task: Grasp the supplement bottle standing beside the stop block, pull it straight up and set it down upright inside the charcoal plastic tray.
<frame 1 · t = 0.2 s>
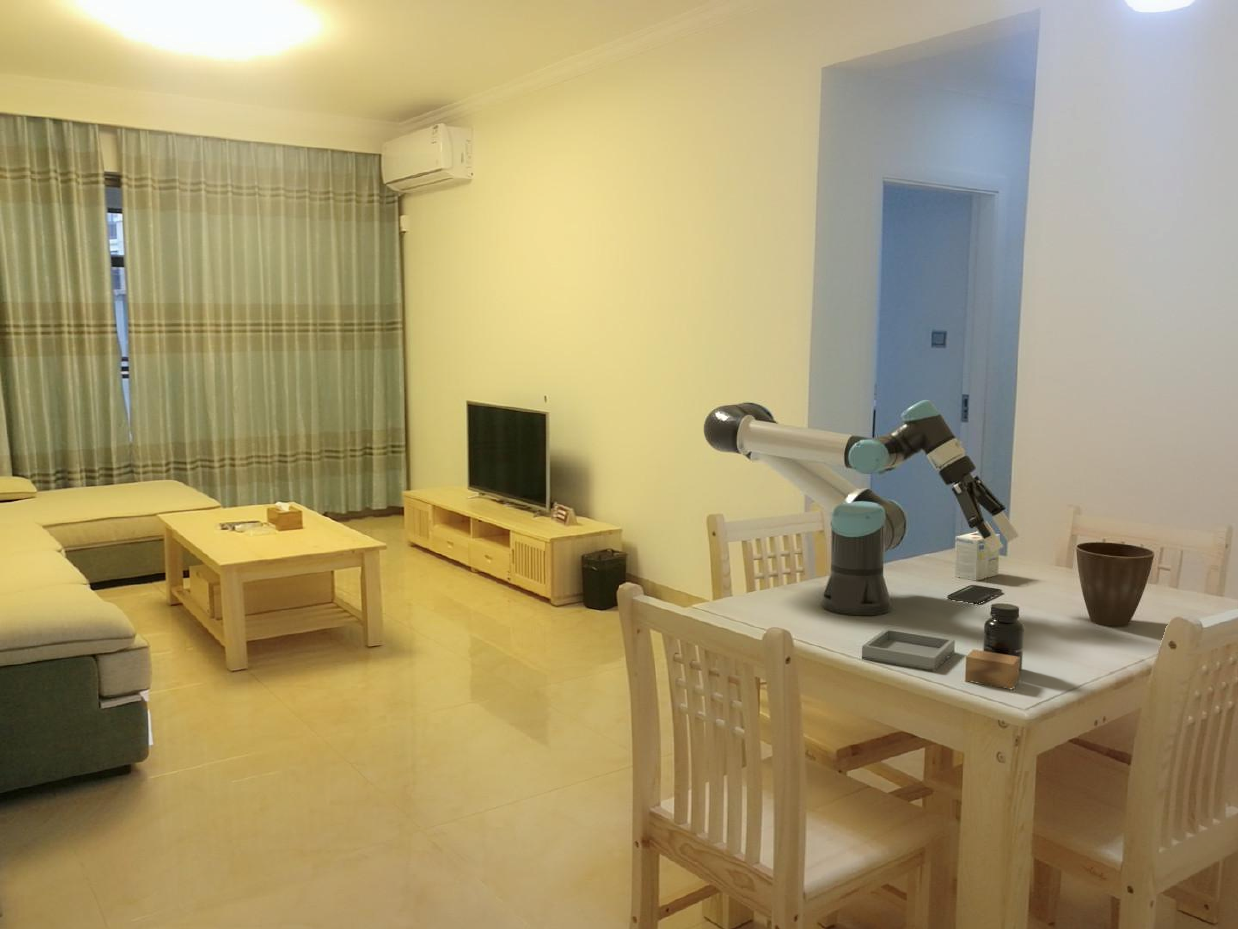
hand: (1006, 544, 218), 16 cm above the table, tool tilted 35°, fingers open, 13 cm apart
phone: (974, 598, 235), on the table
supplement bottle: (1001, 671, 182), on the table
light bulb box: (976, 576, 255), on the table
plant pot: (1110, 623, 212), on the table
stop block: (991, 681, 176), on the table
tray: (908, 655, 190), on the table
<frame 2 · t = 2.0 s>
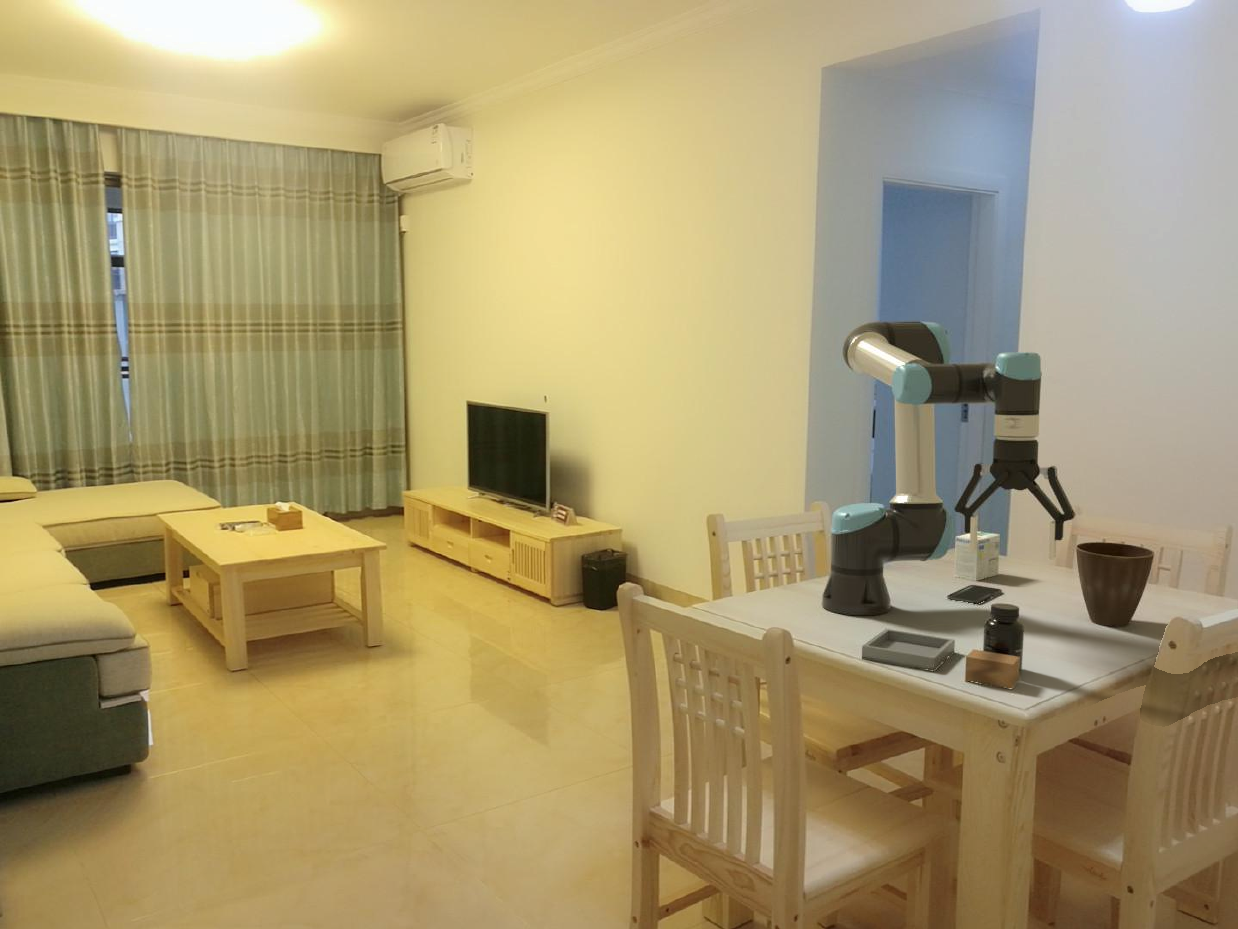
hand: (1012, 554, 180), 21 cm above the table, tool pointing down, fingers open, 13 cm apart
nothing on the table moved.
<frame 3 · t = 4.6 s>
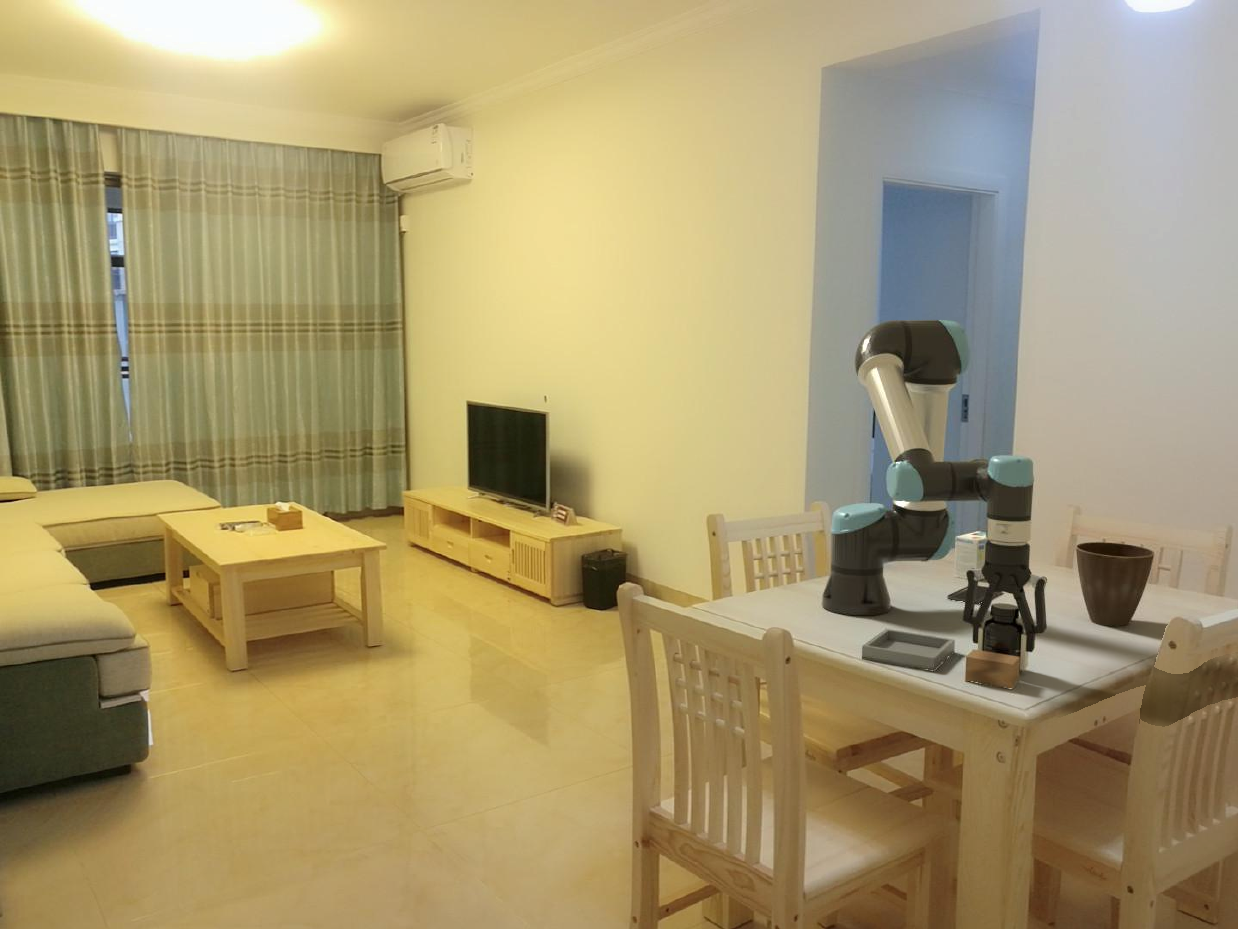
hand: (1002, 664, 182), 1 cm above the table, tool pointing down, fingers closed on supplement bottle, 7 cm apart
supplement bottle: (1001, 670, 182), on the table, touching gripper
everything else where it was.
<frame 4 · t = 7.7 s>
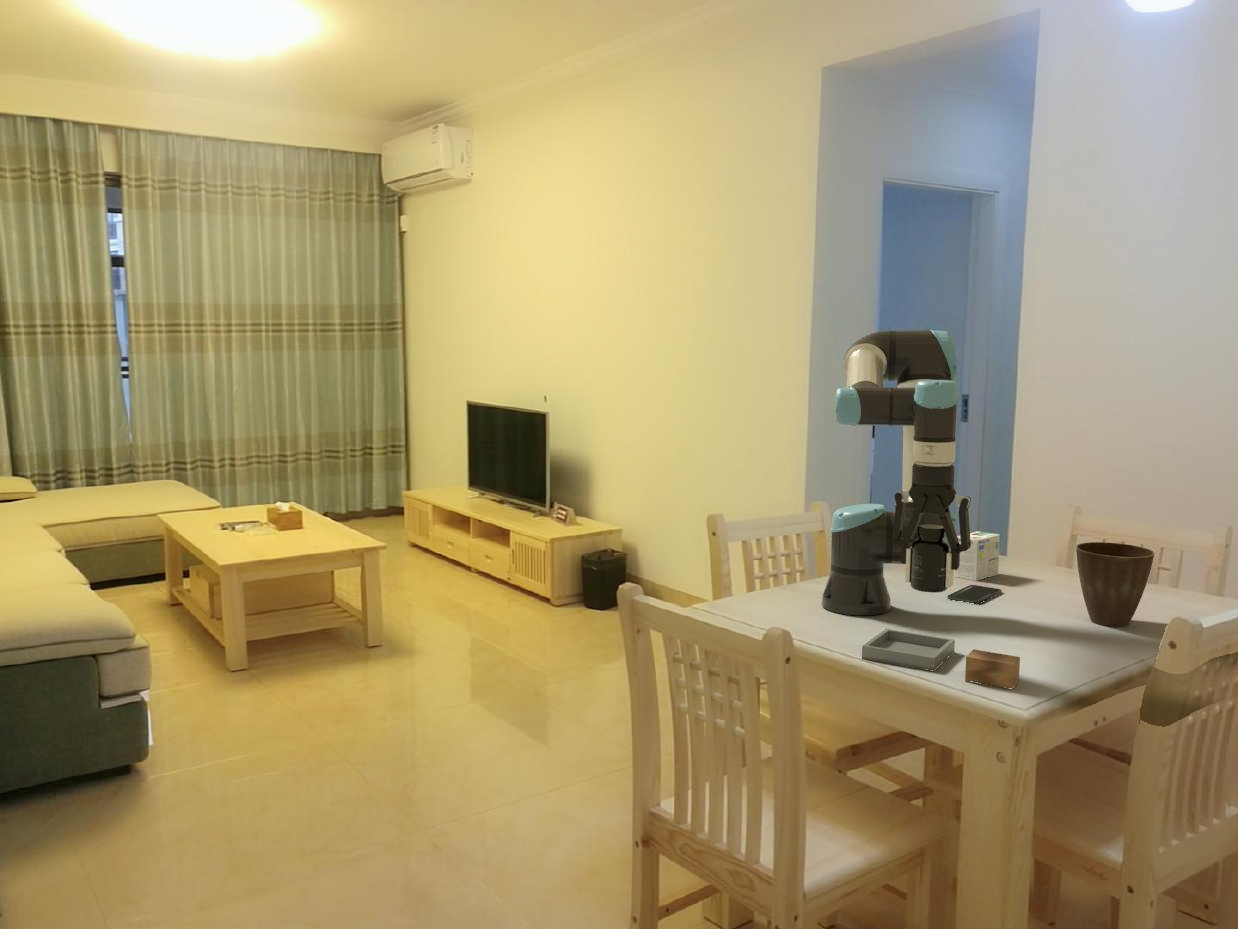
hand: (929, 583, 188), 14 cm above the table, tool pointing down, fingers closed on supplement bottle, 7 cm apart
supplement bottle: (929, 589, 188), point 13 cm above the table, touching gripper
everything else where it was.
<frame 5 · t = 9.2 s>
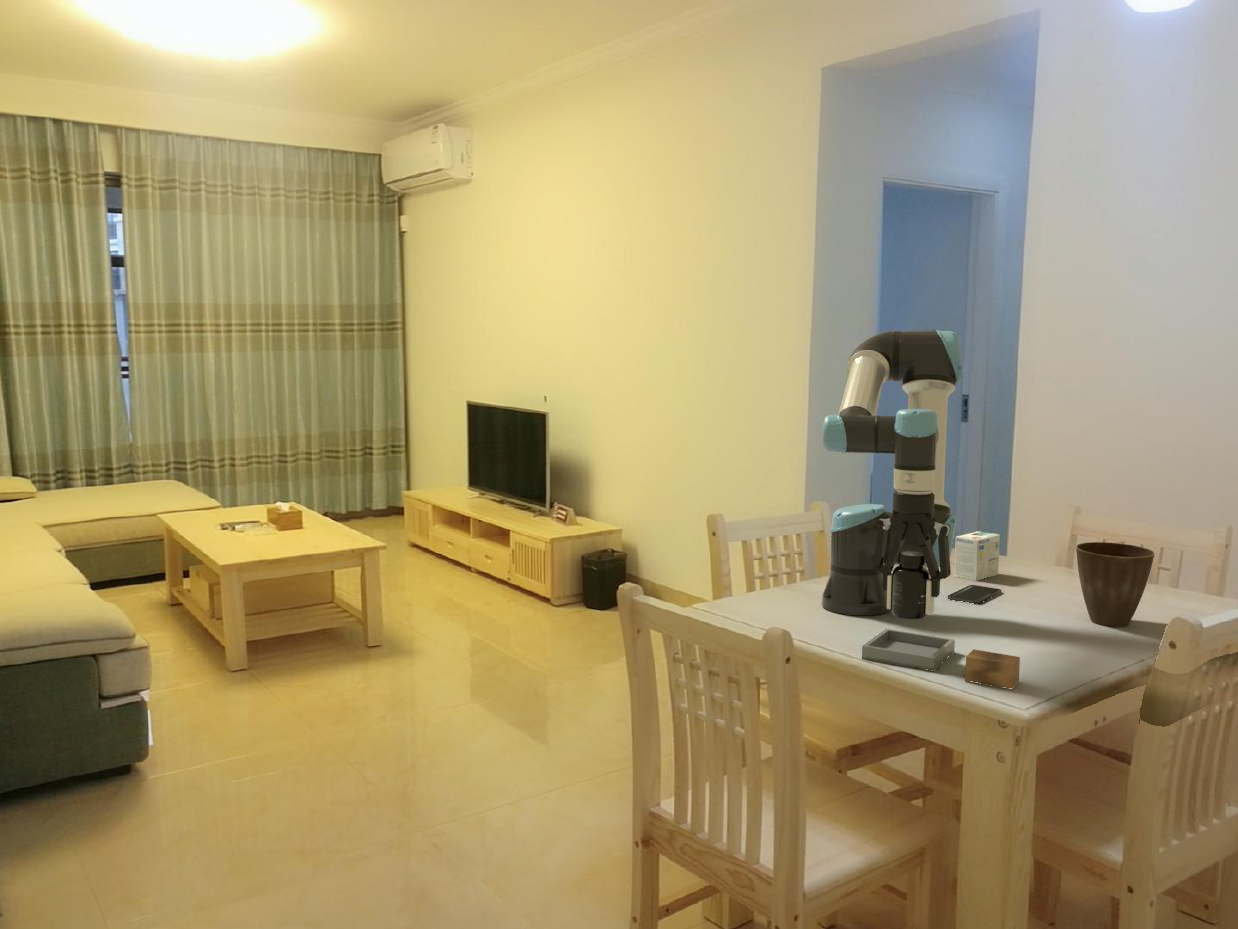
hand: (909, 610, 189), 9 cm above the table, tool pointing down, fingers closed on supplement bottle, 7 cm apart
supplement bottle: (909, 616, 189), point 8 cm above the table, touching gripper
everything else where it was.
when the fingers open (3 cm above the table, at t = 10.6 s): supplement bottle drops 1 cm, resting on tray.
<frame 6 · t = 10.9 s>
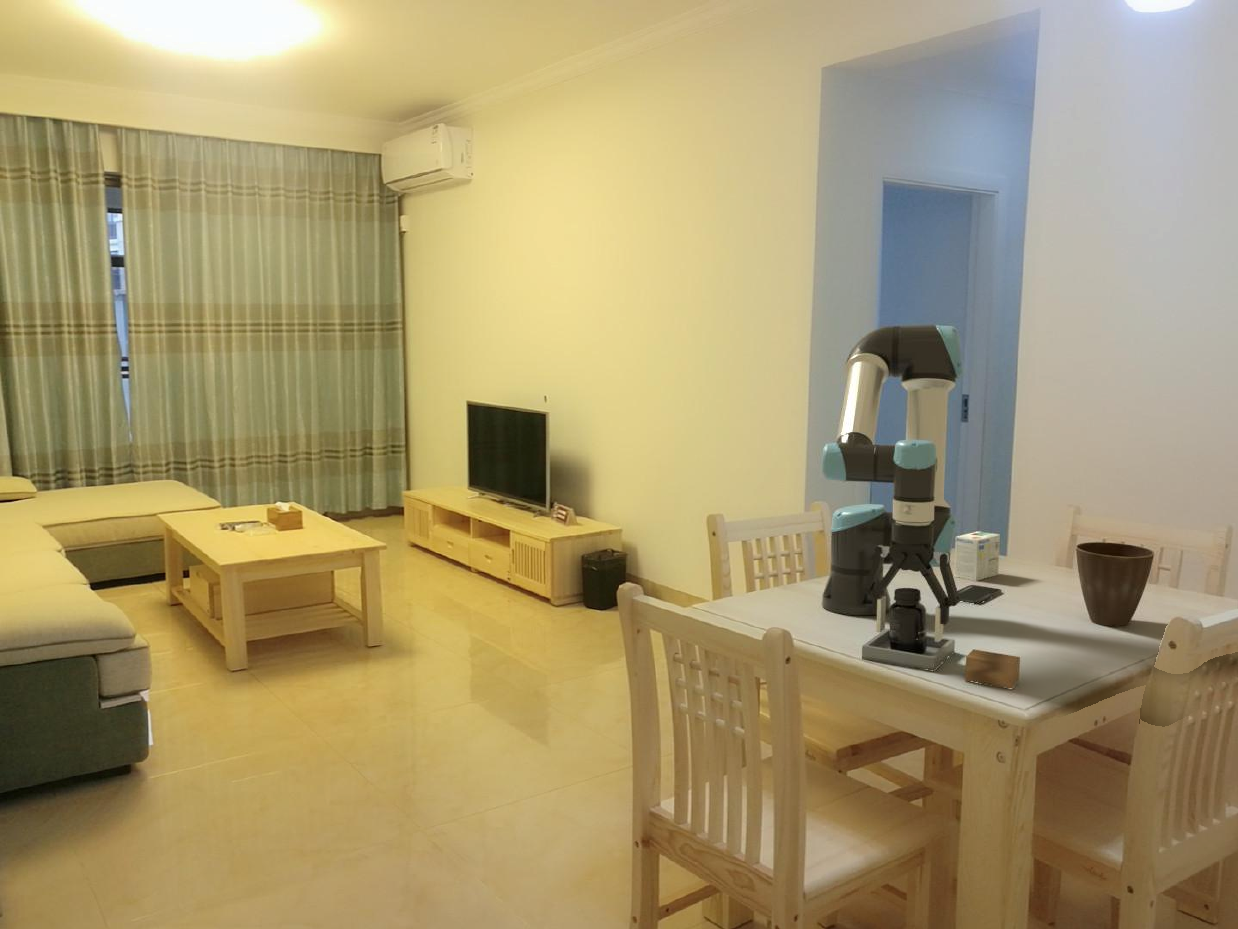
hand: (909, 635, 190), 4 cm above the table, tool pointing down, fingers open, 10 cm apart
supplement bottle: (908, 652, 190), point 1 cm above the table, touching tray
everything else where it was.
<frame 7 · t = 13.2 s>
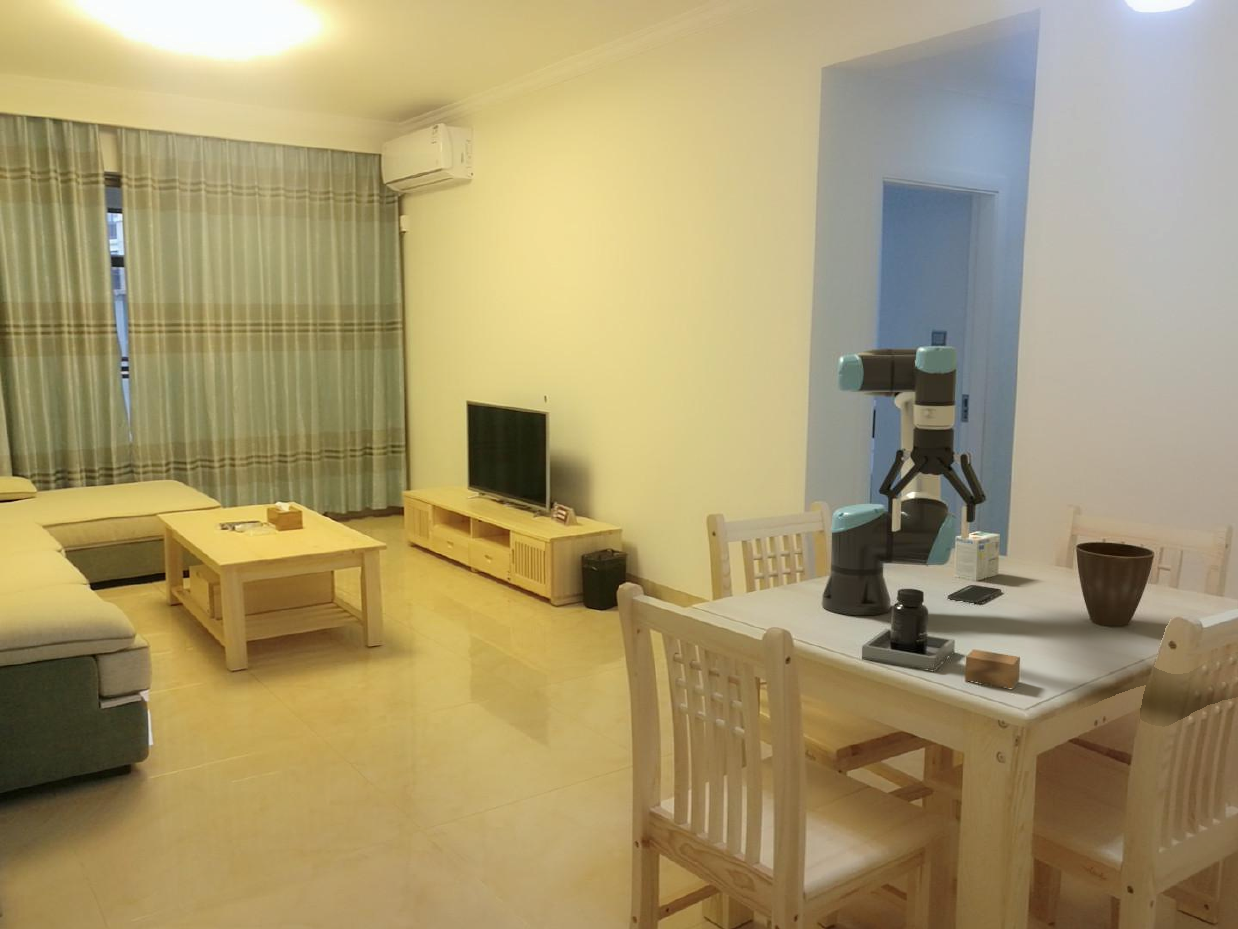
hand: (929, 534, 194), 22 cm above the table, tool pointing down, fingers open, 13 cm apart
nothing on the table moved.
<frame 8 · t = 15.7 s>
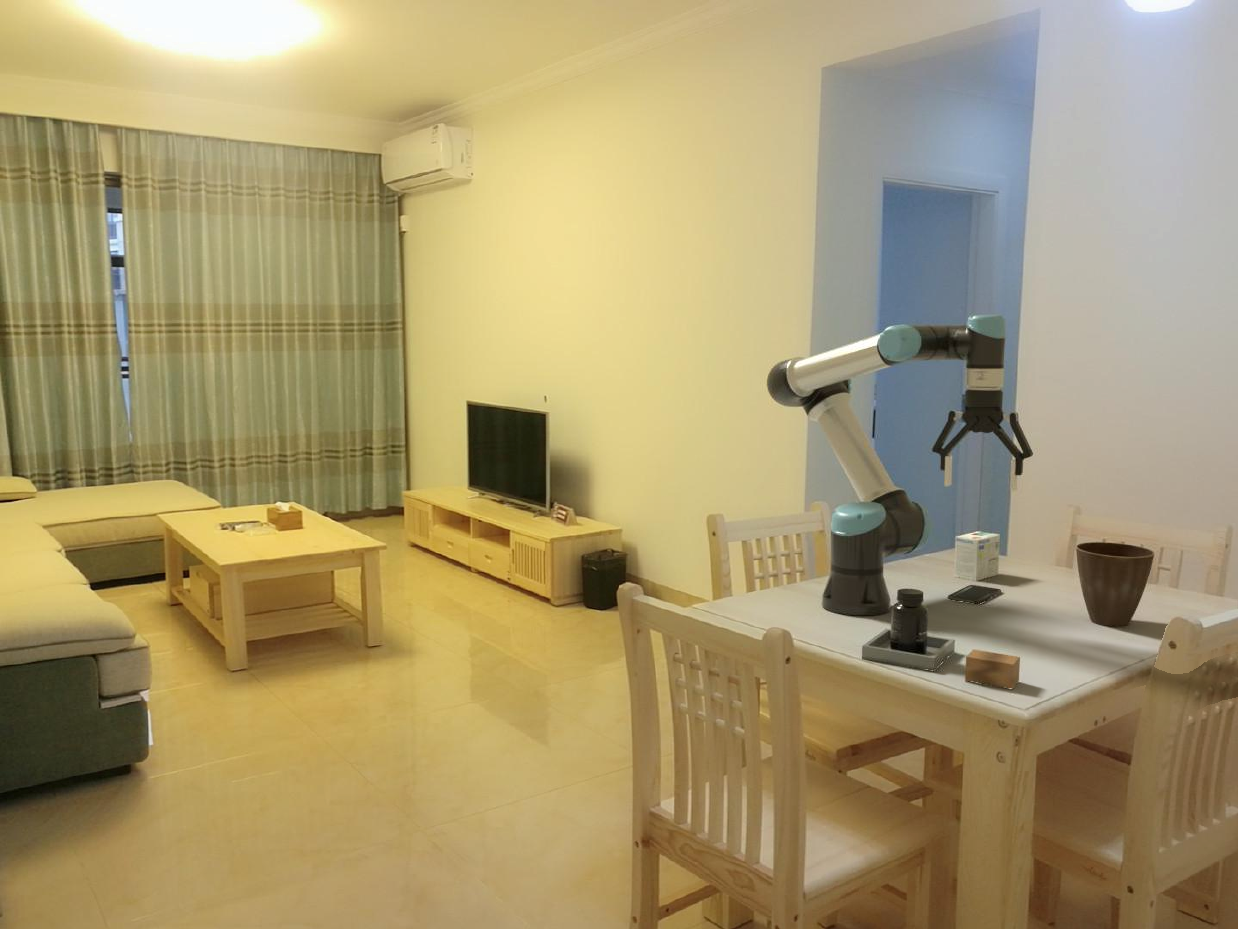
hand: (979, 488, 212), 29 cm above the table, tool pointing down, fingers open, 13 cm apart
nothing on the table moved.
at the end: supplement bottle 0.0 cm off-centre on the tray, point 0.4 cm above the tray's base; supplement bottle tilted 0°; the gripper is holding nothing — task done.
